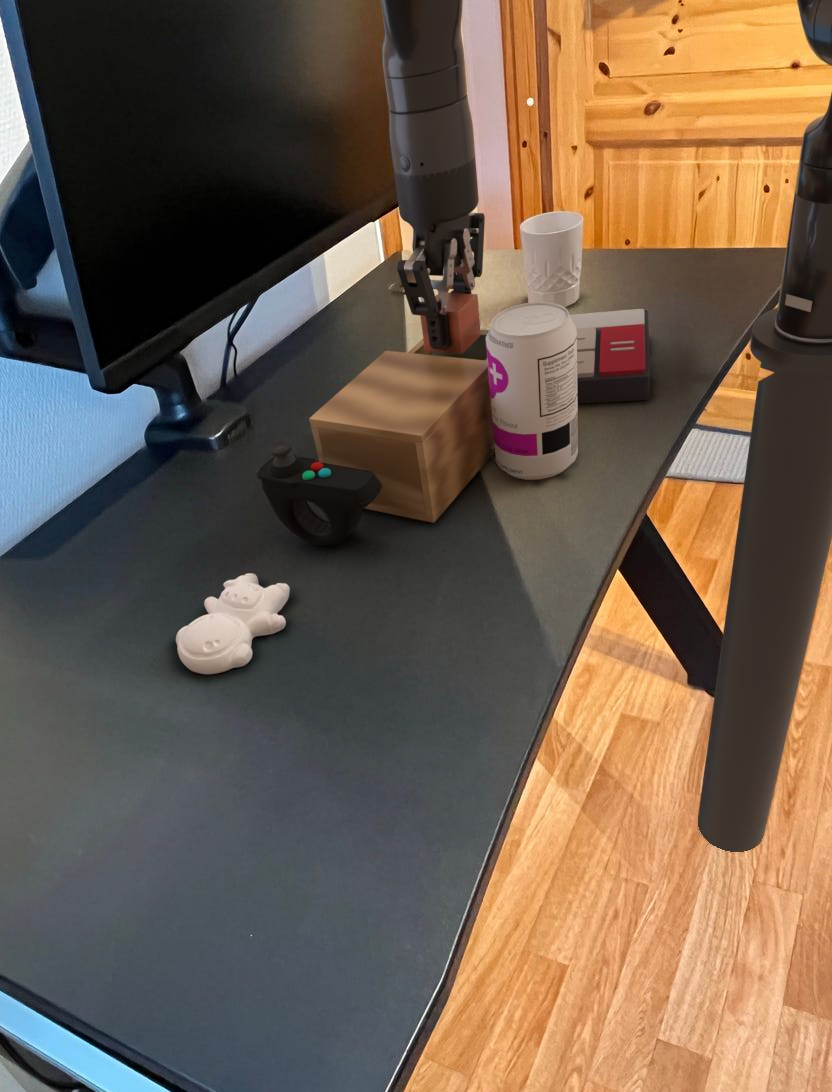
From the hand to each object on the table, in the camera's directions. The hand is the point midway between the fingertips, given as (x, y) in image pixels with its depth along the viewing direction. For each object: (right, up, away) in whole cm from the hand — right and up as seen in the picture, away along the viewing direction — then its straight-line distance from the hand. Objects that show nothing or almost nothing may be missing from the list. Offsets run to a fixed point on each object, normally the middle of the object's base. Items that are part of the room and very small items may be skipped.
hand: (452, 336), depth 91 cm
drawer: (+2, -7, +6) cm, 9 cm away
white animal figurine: (-21, -31, -13) cm, 39 cm away
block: (0, -1, +1) cm, 1 cm away
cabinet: (-4, -14, +1) cm, 15 cm away
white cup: (+17, +14, +26) cm, 34 cm away
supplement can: (+8, -14, -2) cm, 16 cm away
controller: (-12, -22, -5) cm, 26 cm away
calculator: (+18, -1, +10) cm, 20 cm away
